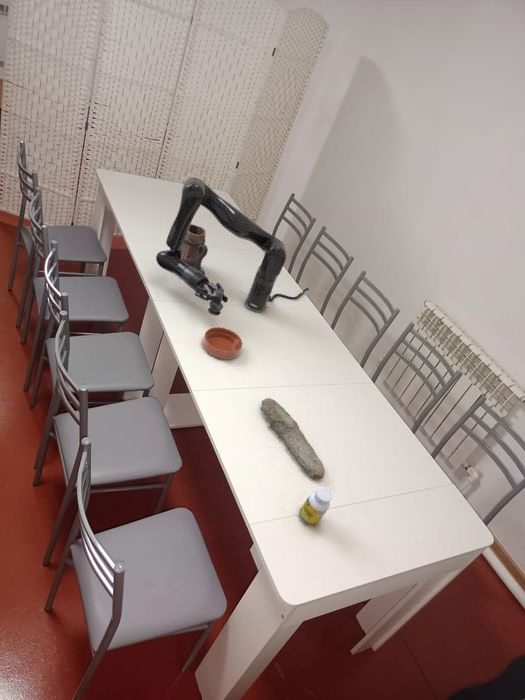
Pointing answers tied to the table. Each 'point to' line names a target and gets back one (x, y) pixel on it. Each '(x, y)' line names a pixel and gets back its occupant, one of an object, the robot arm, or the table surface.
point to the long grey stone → (293, 438)
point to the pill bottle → (315, 506)
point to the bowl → (222, 343)
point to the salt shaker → (214, 307)
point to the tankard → (194, 247)
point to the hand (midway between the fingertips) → (223, 301)
